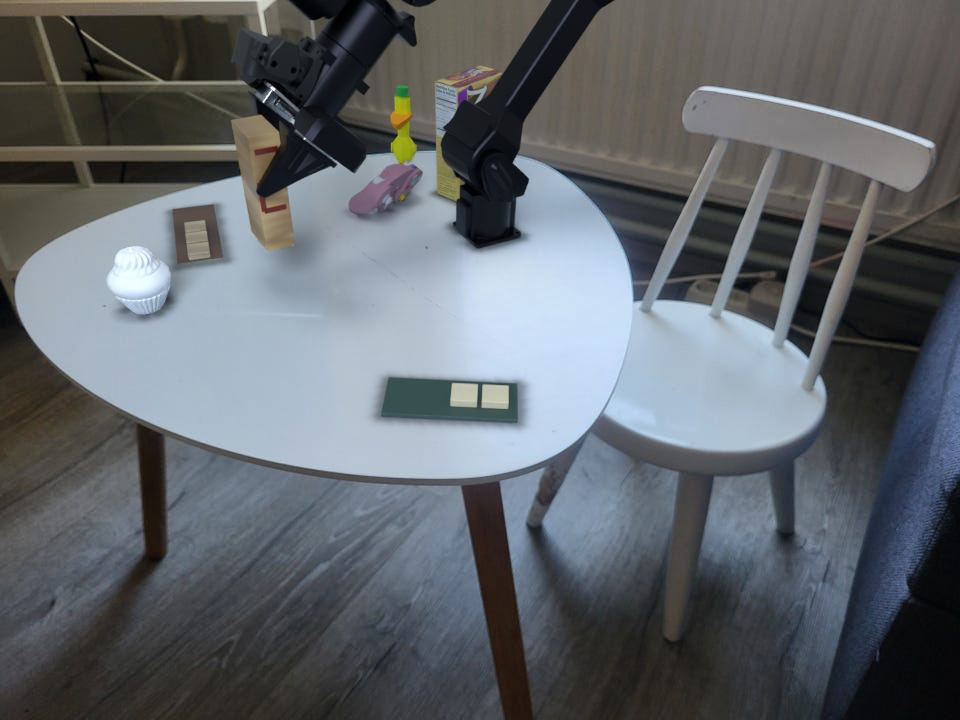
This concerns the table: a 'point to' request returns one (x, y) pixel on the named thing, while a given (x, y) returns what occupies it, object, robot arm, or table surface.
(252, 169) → the wooden block
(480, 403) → the dark green board
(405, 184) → the pink toy car
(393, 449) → the table surface
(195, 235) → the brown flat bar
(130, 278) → the muffin
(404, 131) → the toy figure
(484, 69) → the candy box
